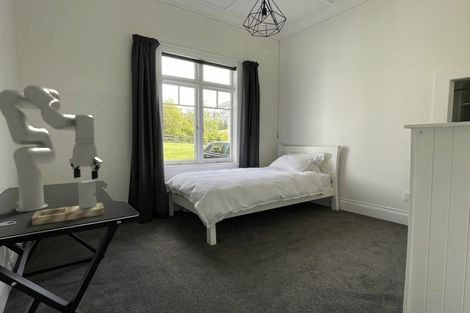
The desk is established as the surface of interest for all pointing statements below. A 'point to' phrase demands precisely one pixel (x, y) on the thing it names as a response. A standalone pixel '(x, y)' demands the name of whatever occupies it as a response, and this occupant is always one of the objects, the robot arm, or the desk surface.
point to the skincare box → (87, 194)
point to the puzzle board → (66, 214)
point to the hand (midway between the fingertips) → (86, 178)
